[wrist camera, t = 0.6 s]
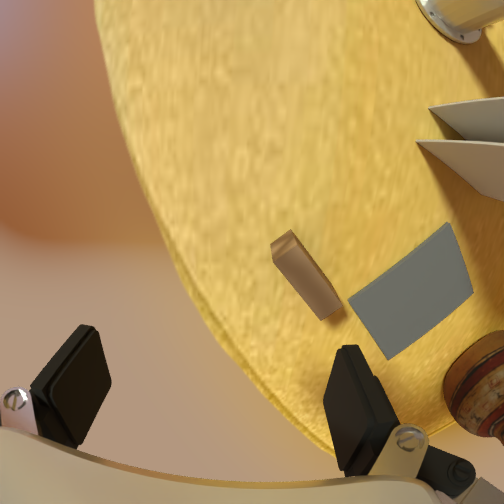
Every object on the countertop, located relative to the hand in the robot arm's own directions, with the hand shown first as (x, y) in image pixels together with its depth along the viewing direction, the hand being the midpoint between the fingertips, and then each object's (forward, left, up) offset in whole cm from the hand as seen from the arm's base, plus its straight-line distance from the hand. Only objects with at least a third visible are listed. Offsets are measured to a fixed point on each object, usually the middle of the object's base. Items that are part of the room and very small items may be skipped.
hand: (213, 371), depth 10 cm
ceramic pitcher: (-19, +50, -25) cm, 59 cm away
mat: (-13, +24, -25) cm, 37 cm away
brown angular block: (-2, +9, -25) cm, 27 cm away
